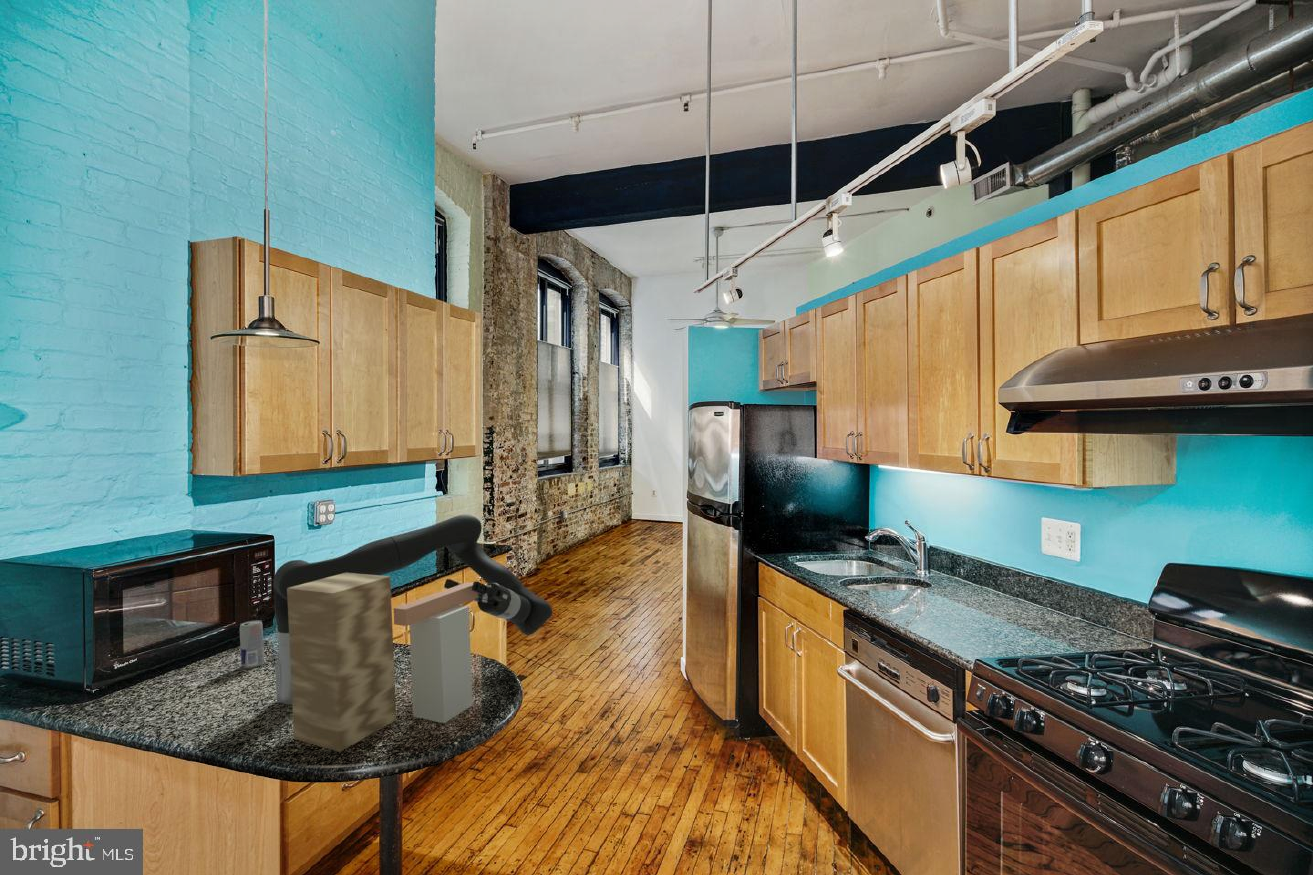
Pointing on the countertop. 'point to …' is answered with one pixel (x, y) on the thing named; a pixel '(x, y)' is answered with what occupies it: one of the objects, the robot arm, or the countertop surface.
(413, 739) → the countertop surface
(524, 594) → the robot arm
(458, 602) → the terracotta bar
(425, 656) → the grey block
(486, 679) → the countertop surface
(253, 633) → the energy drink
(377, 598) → the oak stand
